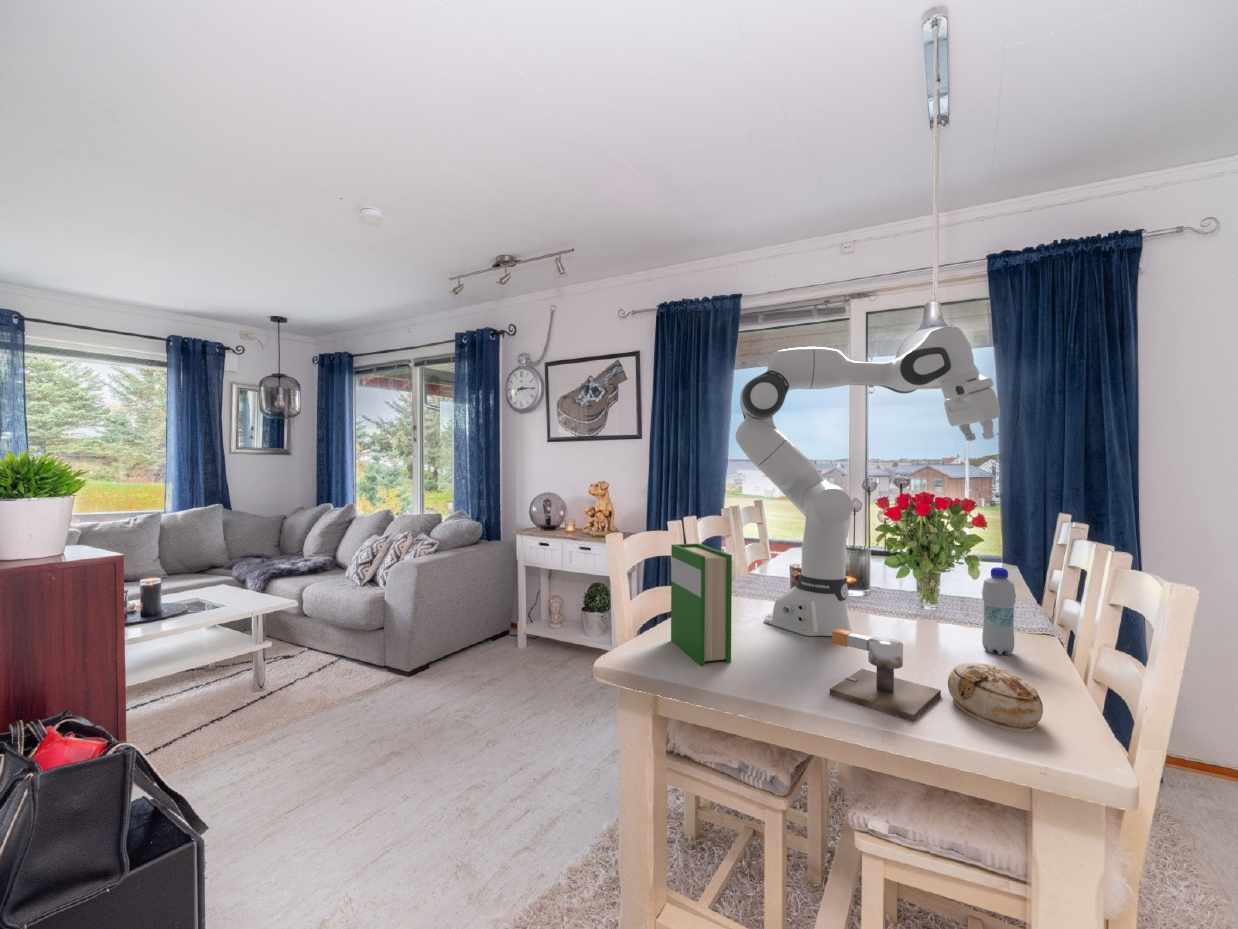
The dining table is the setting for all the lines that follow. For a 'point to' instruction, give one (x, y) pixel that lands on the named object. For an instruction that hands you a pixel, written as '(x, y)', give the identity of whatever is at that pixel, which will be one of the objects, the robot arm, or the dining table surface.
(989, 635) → the bottle
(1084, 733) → the dining table surface
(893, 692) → the base
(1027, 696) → the trinket box
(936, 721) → the dining table surface
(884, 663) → the lever handle
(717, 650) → the hardback book
